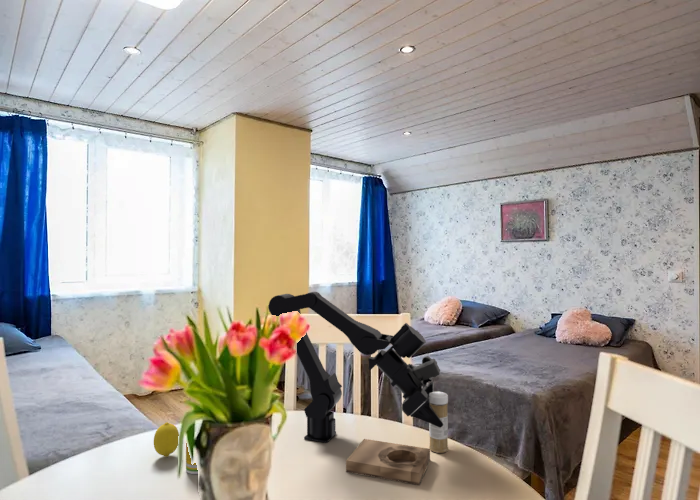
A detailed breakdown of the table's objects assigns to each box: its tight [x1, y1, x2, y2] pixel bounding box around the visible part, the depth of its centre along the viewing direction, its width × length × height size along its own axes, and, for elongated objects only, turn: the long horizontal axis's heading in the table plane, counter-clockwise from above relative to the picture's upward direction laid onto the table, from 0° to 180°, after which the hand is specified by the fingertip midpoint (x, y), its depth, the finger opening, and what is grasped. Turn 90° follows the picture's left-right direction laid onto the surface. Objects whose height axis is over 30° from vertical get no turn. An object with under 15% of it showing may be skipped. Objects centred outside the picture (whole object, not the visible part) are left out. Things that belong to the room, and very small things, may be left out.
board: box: [345, 438, 431, 486], centre depth 97 cm, size 16×12×2 cm
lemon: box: [153, 421, 180, 458], centre depth 102 cm, size 6×6×8 cm
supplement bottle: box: [185, 442, 199, 475], centre depth 96 cm, size 5×5×10 cm
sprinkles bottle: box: [428, 391, 449, 454], centre depth 105 cm, size 5×5×14 cm
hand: (443, 418), depth 105 cm, fingers open, 9 cm apart
